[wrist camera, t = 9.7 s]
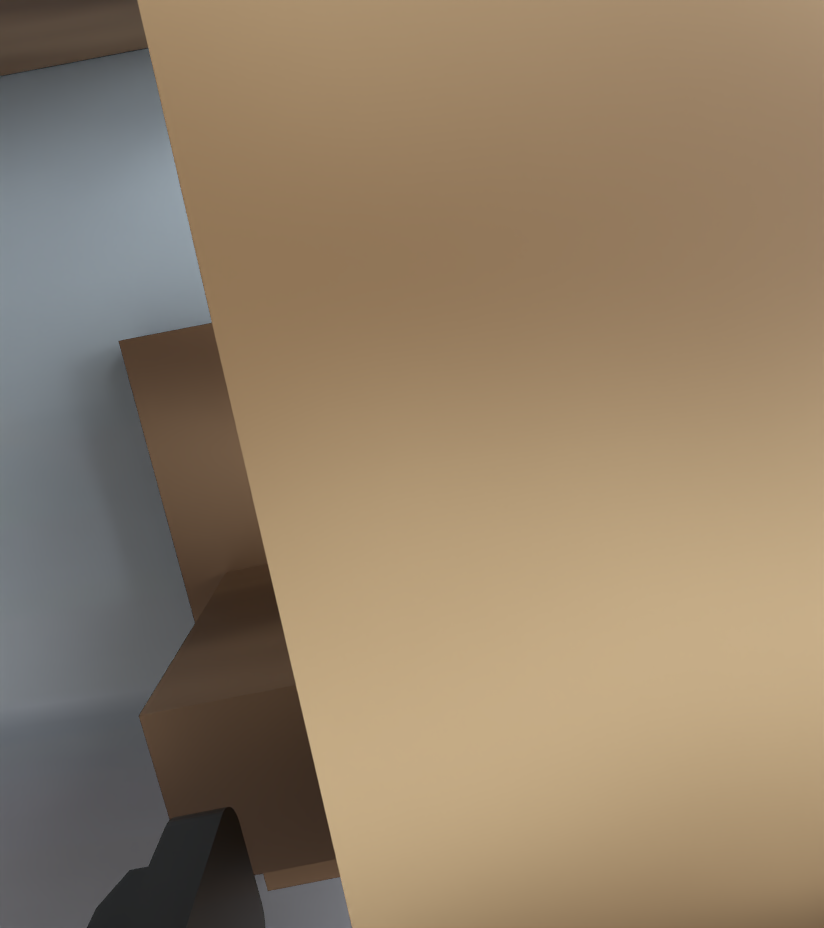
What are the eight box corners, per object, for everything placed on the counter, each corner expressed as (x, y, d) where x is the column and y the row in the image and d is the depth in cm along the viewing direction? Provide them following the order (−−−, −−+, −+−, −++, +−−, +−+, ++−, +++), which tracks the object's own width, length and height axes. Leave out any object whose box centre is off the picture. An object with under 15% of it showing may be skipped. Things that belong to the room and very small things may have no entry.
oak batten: (233, 42, 9) (79, -246, 4) (597, -23, 9) (820, -376, 4) (485, 1250, 13) (541, 1744, 8) (731, 1203, 13) (915, 1670, 8)
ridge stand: (134, 339, 16) (-49, 354, 9) (696, 231, 16) (929, 167, 9) (273, 861, 19) (212, 1168, 12) (750, 768, 19) (958, 1021, 12)
